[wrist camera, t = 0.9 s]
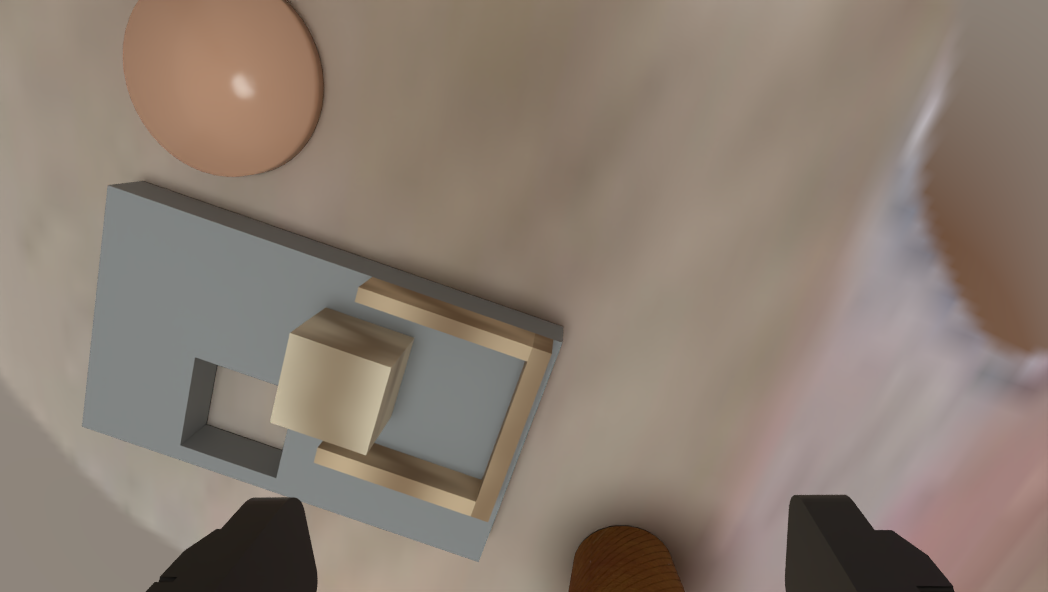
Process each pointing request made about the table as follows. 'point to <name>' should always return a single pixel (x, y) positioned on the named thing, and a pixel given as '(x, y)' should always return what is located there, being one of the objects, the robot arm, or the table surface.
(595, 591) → the disposable coffee cup
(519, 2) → the table surface
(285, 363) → the block
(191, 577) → the robot arm
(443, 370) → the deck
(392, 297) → the frame
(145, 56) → the saucer
